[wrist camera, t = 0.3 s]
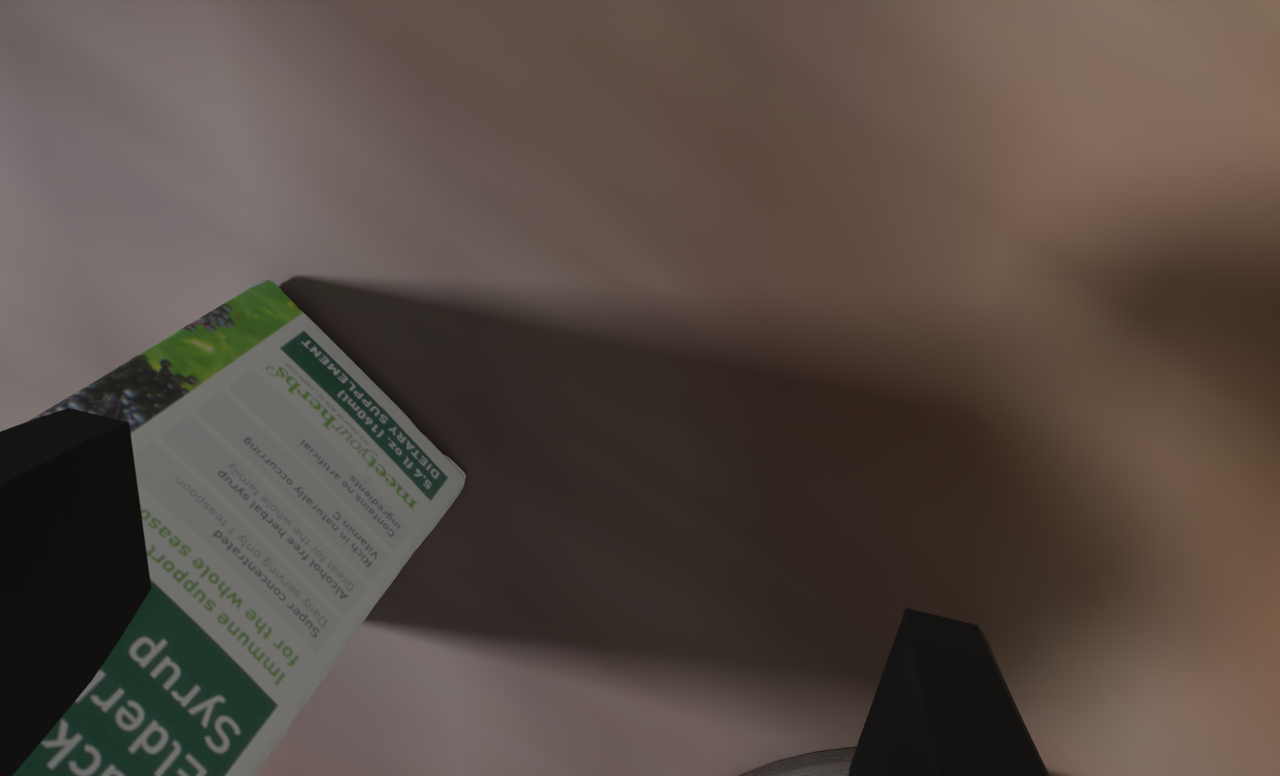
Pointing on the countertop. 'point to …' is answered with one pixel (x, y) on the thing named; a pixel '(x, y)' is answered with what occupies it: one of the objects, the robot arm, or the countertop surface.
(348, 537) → the syrup box
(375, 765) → the countertop surface
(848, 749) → the cap plate
